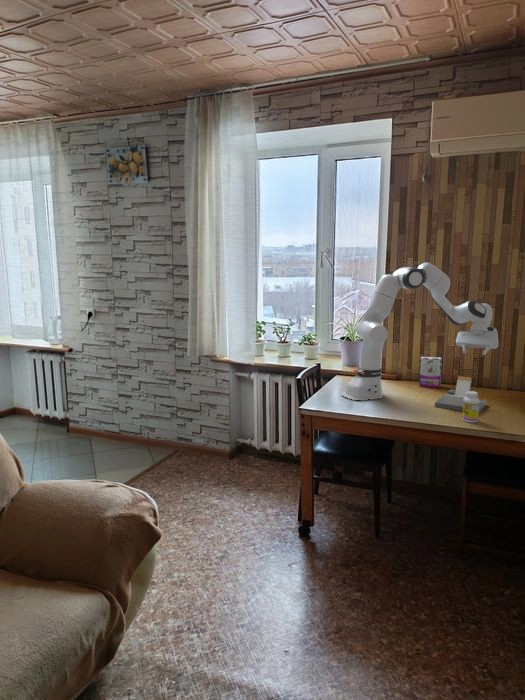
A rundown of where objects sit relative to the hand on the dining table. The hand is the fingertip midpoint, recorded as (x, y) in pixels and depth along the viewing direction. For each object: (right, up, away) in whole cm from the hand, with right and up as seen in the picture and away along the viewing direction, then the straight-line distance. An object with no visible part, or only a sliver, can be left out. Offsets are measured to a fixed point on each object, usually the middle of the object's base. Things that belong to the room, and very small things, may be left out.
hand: (474, 353), depth 254 cm
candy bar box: (-15, -19, +24) cm, 34 cm away
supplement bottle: (-17, -30, -35) cm, 49 cm away
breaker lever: (-12, -22, -14) cm, 29 cm away
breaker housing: (-12, -25, -13) cm, 31 cm away
